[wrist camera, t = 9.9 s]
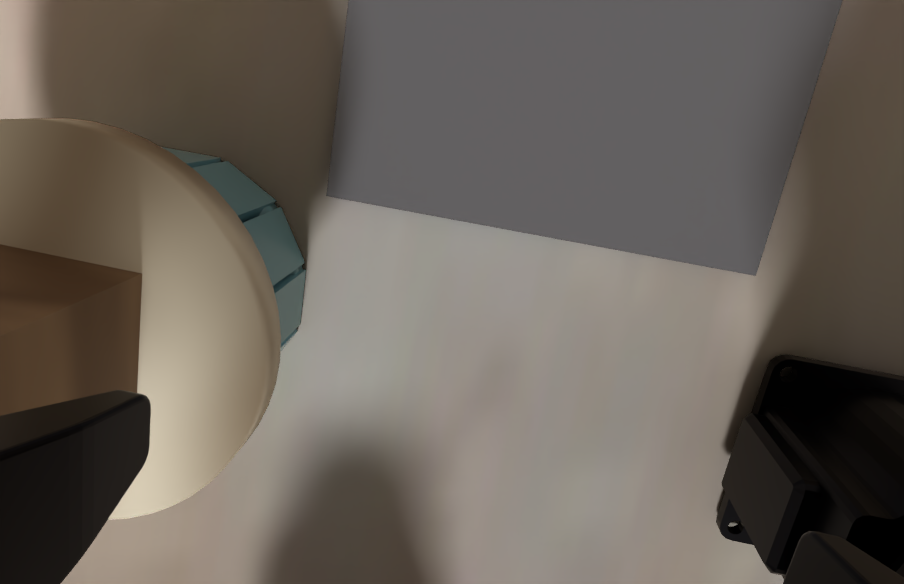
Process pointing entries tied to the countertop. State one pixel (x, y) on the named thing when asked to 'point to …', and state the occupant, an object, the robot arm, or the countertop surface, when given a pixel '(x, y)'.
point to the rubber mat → (582, 117)
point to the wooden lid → (132, 297)
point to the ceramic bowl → (260, 233)
